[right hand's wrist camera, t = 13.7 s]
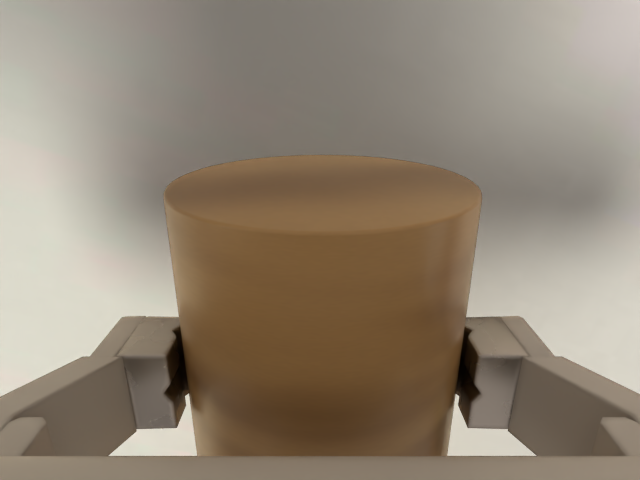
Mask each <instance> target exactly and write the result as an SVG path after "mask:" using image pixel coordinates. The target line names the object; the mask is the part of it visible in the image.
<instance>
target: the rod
mask: <svg viewBox="0 0 640 480" xmlns="http://www.w3.org/2000/svg"><path fill="white" fill-rule="evenodd" d="M163 197H164V206H165V214H166V222H167V229H168V237H169V244H170V252H171V259H172V267H173V275H174V282H175V290H176V297H177V305H178V313H179V320H180V328H181V335H182V343H183V351H184V358H185V366H186V373H187V381H188V389H189V396H190V404H191V411H192V419H193V427H194V434H195V442H196V449H197V456H447V453H448V445H449V438H450V431H451V423H452V416H453V409H454V401H455V394H456V387H457V379H458V372H459V365H460V357H461V350H462V343H463V335H464V328H465V320H466V313H467V306H468V298H469V291H470V284H471V276H472V269H473V262H474V254H475V247H476V240H477V232H478V225H479V218H480V210H481V203H482V193H481V190H480V189H479V187H478V186H477V185H476V184H475V183H474V182H472V181H471V180H469V179H467V178H466V177H463V176H461V175H459V174H457V173H454V172H451V171H448V170H445V169H442V168H438V167H434V166H430V165H425V164H421V163H415V162H410V161H403V160H396V159H387V158H378V157H366V156H347V155H297V156H278V157H266V158H256V159H248V160H241V161H234V162H229V163H223V164H219V165H214V166H210V167H206V168H203V169H199V170H196V171H193V172H191V173H188V174H186V175H183V176H181V177H179V178H177V179H176V180H174V181H173V182H171V183H170V184H169V185H168V186H167V187H166V189H165V191H164V194H163Z"/></svg>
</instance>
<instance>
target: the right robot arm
mask: <svg viewBox="0 0 640 480" xmlns="http://www.w3.org/2000/svg"><path fill="white" fill-rule="evenodd" d="M188 393H189V389H188V381H187V373H186V366H185V358H184V351H183V343H182V335H181V328H180V320H179V317H152V316H148V317H146V316H126V317H122V318H121V319H120V320H119V321H118V323H117V324H116V325H115V326H114V328H113V329H112V330H111V331H110V332H109V334H108V335H107V336H106V337H105V339H104V340H103V341H102V342H101V343H100V345H99V346H98V347H97V348H96V350H95V351H94V352H93V353H92V355H91V356H90V357H81V358H79V359H77V360H75V361H73V362H71V363H69V364H67V365H65V366H63V367H61V368H58V369H56V370H54V371H52V372H50V373H48V374H46V375H44V376H42V377H40V378H38V379H36V380H34V381H32V382H30V383H28V384H26V385H24V386H22V387H20V388H17V389H15V390H13V391H11V392H9V393H7V394H5V395H3V396H1V397H0V480H640V394H638V393H636V392H634V391H632V390H630V389H628V388H626V387H624V386H622V385H620V384H618V383H616V382H613V381H611V380H609V379H607V378H605V377H603V376H601V375H599V374H597V373H595V372H593V371H591V370H589V369H587V368H585V367H582V366H580V365H578V364H576V363H574V362H572V361H570V360H568V359H566V358H564V357H555V356H554V355H553V354H552V352H551V351H550V350H549V349H548V348H547V346H546V345H545V344H544V343H543V342H542V340H541V339H540V338H539V337H538V336H537V334H536V333H535V332H534V331H533V330H532V328H531V327H530V326H529V325H528V324H527V322H526V321H525V320H524V319H523V318H522V317H520V316H503V317H466V320H465V328H464V335H463V343H462V350H461V357H460V365H459V372H458V379H457V387H456V394H457V395H459V404H458V406H459V408H460V411H461V413H462V415H463V418H464V420H465V422H466V425H467V427H468V428H490V429H508V431H509V432H510V433H511V434H512V435H513V436H515V437H516V438H517V439H518V440H519V441H520V442H522V443H523V444H524V445H525V446H526V447H527V448H529V449H530V450H531V451H532V452H533V453H534V454H535V455H537V456H108V455H110V454H111V453H112V452H113V451H114V450H115V449H116V448H118V447H119V446H120V445H121V444H122V443H123V442H125V441H126V440H127V439H128V438H129V437H130V436H131V435H133V434H134V433H135V432H136V429H154V428H177V426H178V424H179V421H180V419H181V416H182V414H183V411H184V409H185V406H186V402H185V396H186V395H187V394H188Z"/></svg>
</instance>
